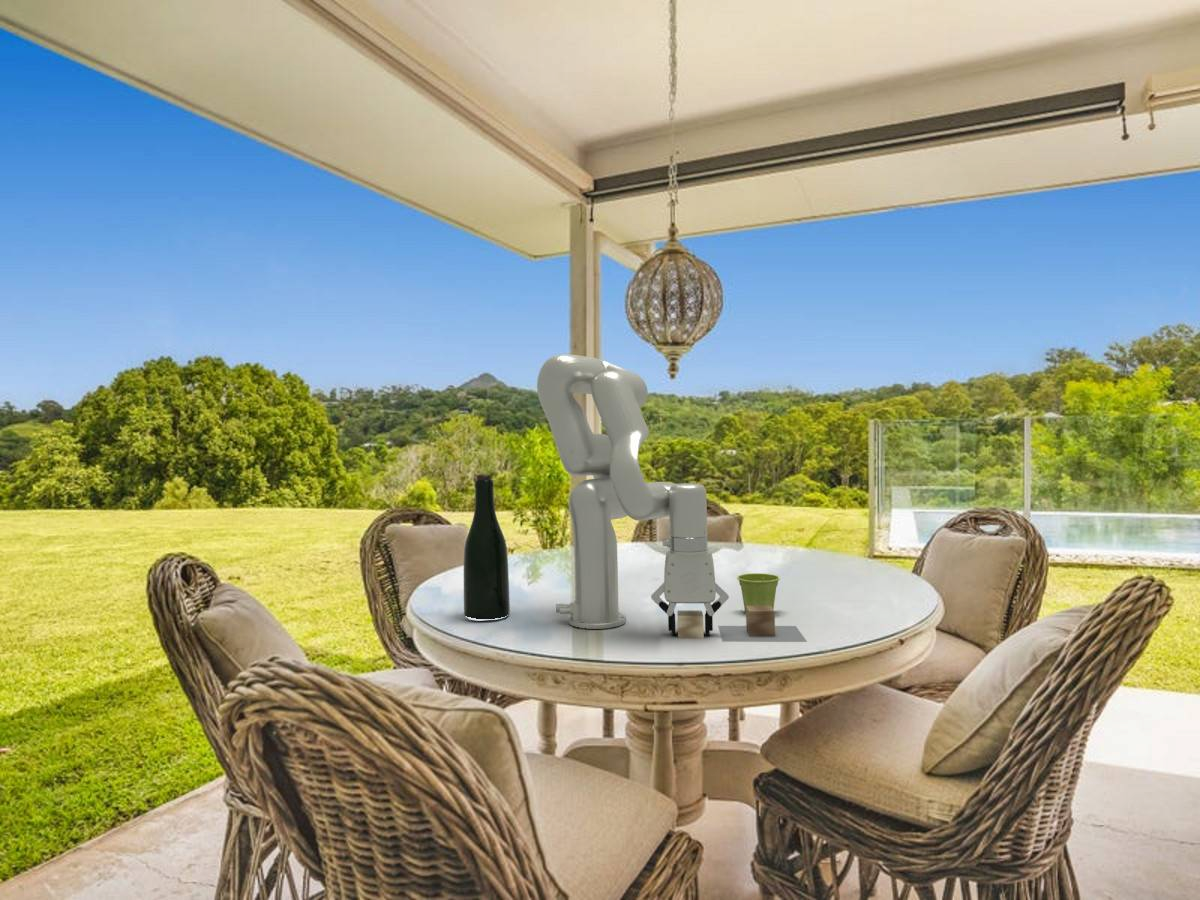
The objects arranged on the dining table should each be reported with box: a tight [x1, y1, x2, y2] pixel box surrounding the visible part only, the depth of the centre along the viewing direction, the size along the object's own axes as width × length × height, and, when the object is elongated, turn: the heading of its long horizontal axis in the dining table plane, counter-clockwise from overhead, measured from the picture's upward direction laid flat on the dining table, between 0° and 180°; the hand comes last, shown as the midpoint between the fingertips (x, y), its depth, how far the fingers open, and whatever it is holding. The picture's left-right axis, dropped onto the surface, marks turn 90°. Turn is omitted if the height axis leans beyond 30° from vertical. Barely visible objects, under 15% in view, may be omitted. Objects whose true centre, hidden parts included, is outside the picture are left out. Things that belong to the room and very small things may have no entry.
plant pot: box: [736, 572, 781, 614], centre depth 162 cm, size 9×9×9 cm
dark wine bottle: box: [463, 473, 511, 619], centre depth 166 cm, size 10×10×33 cm
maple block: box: [676, 609, 705, 639], centre depth 145 cm, size 5×5×5 cm
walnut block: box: [745, 606, 776, 637], centre depth 145 cm, size 5×5×5 cm
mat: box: [718, 625, 808, 643], centre depth 145 cm, size 16×12×1 cm
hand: (690, 633), depth 145 cm, fingers open, 6 cm apart
